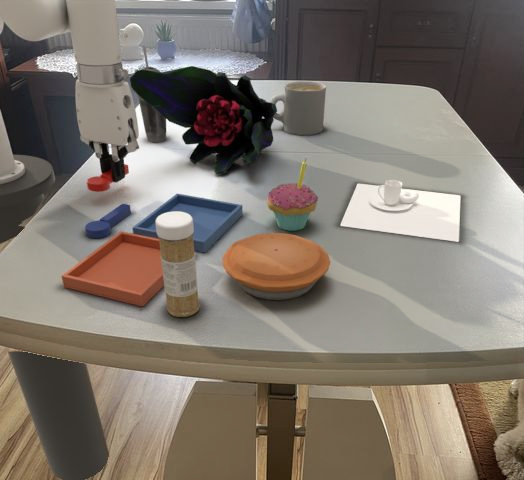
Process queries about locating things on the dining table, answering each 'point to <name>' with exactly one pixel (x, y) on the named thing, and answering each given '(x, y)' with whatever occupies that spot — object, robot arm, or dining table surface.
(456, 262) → the dining table surface
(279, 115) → the coffee mug
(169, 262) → the sprinkles bottle
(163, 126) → the beverage cup
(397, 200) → the teacup and saucer
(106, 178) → the red spoon
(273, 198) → the cupcake
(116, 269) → the terracotta tray
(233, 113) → the decorative plant
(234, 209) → the blue tray
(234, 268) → the pie
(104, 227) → the blue spoon
